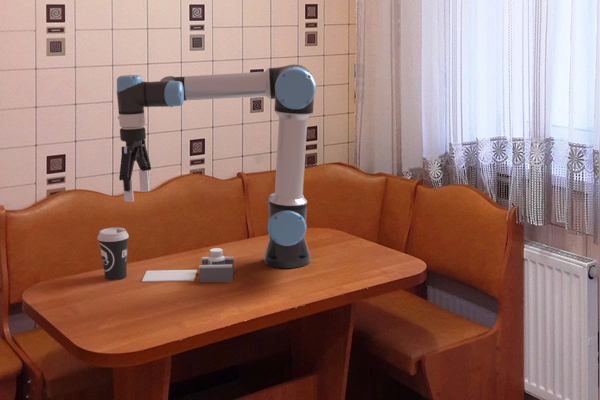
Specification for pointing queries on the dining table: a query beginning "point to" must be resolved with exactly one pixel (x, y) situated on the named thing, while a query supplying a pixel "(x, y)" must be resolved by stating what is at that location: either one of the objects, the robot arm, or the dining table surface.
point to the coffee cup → (114, 252)
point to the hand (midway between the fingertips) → (137, 196)
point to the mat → (169, 275)
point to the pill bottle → (216, 257)
